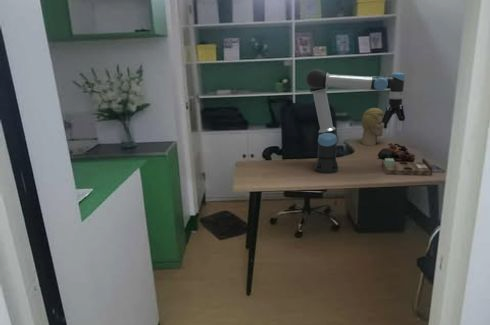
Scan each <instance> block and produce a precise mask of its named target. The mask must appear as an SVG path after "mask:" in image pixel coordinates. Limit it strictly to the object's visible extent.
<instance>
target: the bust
mask: <svg viewBox="0 0 490 325" xmlns="http://www.w3.org/2000/svg"><path fill="white" fill-rule="evenodd" d="M383 117H384V111H383V110H382V109H380V108H378V107H372V108H368V109H367V110H366V111H364V113H363V115H362V119H361V127H362V128H363V132H362V137H361V145H363V146H376V144H377V141H378V137H383V134H384V133H383V132H384V124H383V122H382V119H383Z"/></svg>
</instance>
